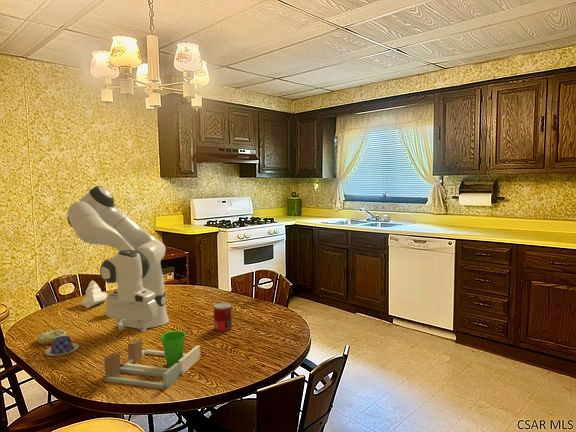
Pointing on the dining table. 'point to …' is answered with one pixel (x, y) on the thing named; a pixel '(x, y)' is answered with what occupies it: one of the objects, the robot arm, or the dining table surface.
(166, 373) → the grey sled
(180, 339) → the cup
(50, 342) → the decorated donut
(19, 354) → the dining table surface
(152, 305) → the robot arm
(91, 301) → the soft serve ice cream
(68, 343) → the checkered hat
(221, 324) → the canned food
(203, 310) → the dining table surface
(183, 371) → the frame
